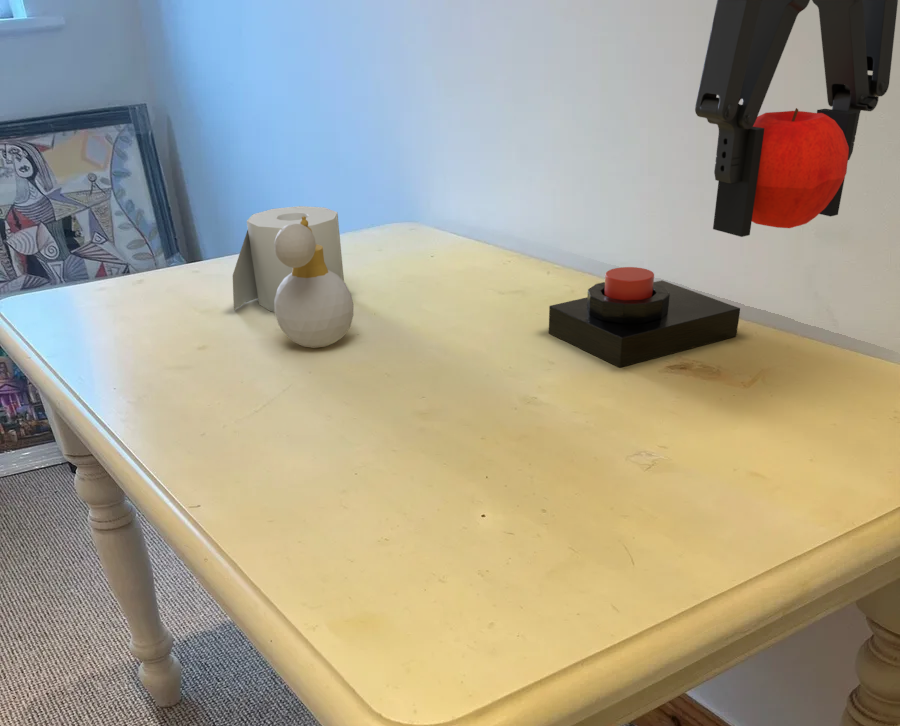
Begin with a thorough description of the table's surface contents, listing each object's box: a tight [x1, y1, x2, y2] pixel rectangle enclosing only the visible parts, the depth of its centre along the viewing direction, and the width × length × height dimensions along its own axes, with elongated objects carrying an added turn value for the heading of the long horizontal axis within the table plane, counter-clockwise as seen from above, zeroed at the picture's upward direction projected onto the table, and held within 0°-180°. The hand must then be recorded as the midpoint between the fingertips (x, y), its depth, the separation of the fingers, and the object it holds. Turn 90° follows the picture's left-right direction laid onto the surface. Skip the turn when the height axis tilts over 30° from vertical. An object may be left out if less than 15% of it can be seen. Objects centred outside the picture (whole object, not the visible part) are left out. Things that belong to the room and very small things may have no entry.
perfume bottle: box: [273, 216, 354, 349], centre depth 86 cm, size 8×10×12 cm
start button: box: [604, 266, 655, 300], centre depth 86 cm, size 4×4×2 cm
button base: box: [548, 280, 741, 368], centre depth 88 cm, size 14×11×4 cm
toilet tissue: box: [232, 205, 345, 312], centre depth 99 cm, size 9×13×9 cm
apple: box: [751, 107, 849, 229], centre depth 63 cm, size 8×8×7 cm
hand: (776, 221), depth 65 cm, fingers closed on apple, 8 cm apart
